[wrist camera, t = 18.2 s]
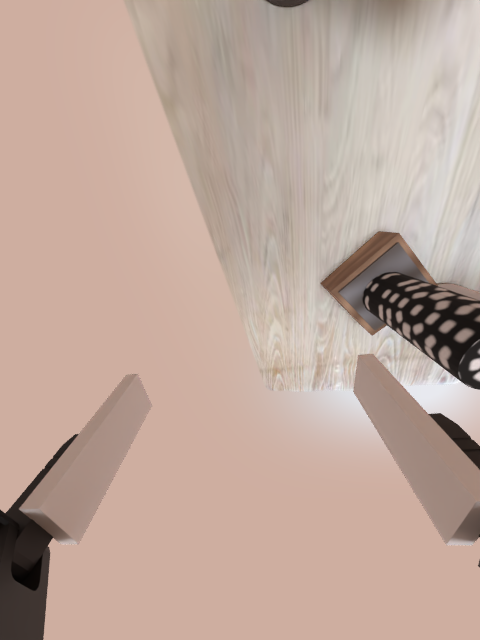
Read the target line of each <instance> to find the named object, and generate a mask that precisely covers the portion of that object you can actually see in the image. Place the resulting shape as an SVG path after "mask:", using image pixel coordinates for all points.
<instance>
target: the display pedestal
mask: <svg viewBox="0 0 480 640" xmlns="http://www.w3.org/2000/svg"><path fill="white" fill-rule="evenodd" d="M387 272H398V273H402V274H405V275H407V276H410V277H413V278H416V279H419V280H422V281H425V282H428V283H430V284H433V285H436V286H438V285H437V284H436V283H435V281H434V280H433V278H432V277H431V276H430V274H429V273H428V272H427V270H426V269H425V268H424V266H423V265H422V264H421V262H420V261H419V259H418V258H417V257H416V255H415V254H414V253H413V251H412V250H411V249H410V247H409V246H408V245H407V243H406V242H405V240H404V239H403V238H402V236H401V235H400V234H399V233H391V232H378V233H377V234H375V235H374V236H373V237H372V238H371V239H370V240H369V241H368V242H366V243H365V244H364V245H363V246H362V247H361V248H360V249H359V250H357V251H356V252H355V253H354V254H353V255H352V256H351V257H350V258H349V259H347V260H346V261H345V262H344V263H343V264H342V265H341V266H340V267H338V268H337V269H336V270H335V271H334V272H333V273H332V274H331V275H329V276H328V277H327V278H326V279H325V280H324V281H323V282H322V283H321V284H322V285H323V286H324V288H325V289H326V290H327V291H328V292H329V293H330V294H331V295H332V296H333V297H334V298H335V299H336V300H337V301H338V302H339V303H340V304H341V305H342V306H343V307H344V308H345V309H346V310H347V311H348V312H349V313H350V315H351V316H352V317H353V318H354V319H355V320H356V321H357V322H358V323H359V324H360V325H361V326H362V327H363V328H365V329H366V330H367V331H368V332H369V333H370V334H371V335H374V334H375V333H377V332H378V331H379V330H381V329H382V328H384V327H385V326H386V324H385V323H384V322H382V321H381V320H380V319H378V318H377V317H376V316H374V315H373V314H372V313H371V312H369V311H368V310H367V309H366V308H365V307H364V304H363V293H364V290H365V288H366V287H367V285H368V284H369V283H370V282H371V281H372V280H373V279H374V278H375V277H377V276H379V275H381V274H384V273H387Z"/></svg>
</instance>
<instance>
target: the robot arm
mask: <svg viewBox="0 0 480 640" xmlns="http://www.w3.org/2000/svg"><path fill="white" fill-rule="evenodd" d="M268 1H269V2H271V3H273V4H276V5H280V6H295V5H299V4H302V3H304V2H306V1H308V0H268ZM353 392H354V394H355V395H356V397H357V398H358V400H359V402H360V403H361V405H362V407H363V408H364V410H365V411H366V413H367V415H368V417H369V418H370V420H371V421H372V423H373V425H374V427H375V428H376V429H377V431H378V433H379V435H380V436H381V438H382V440H383V441H384V443H385V445H386V446H387V448H388V450H389V451H390V453H391V455H392V456H393V458H394V459H395V461H396V463H397V464H398V466H399V468H400V469H401V471H402V473H403V474H404V476H405V478H406V479H407V481H408V482H409V484H410V486H411V487H412V489H413V491H414V493H415V494H416V496H417V497H418V499H419V501H420V502H421V504H422V506H423V507H424V509H425V511H426V512H427V514H428V515H429V517H430V519H431V521H432V522H433V524H434V526H435V527H436V529H437V530H438V532H439V534H440V535H441V537H442V539H443V540H444V542H445V544H446V545H472V544H474V542H475V541H476V540H477V539H478V538H479V537H480V446H479V445H478V444H477V443H476V442H475V441H474V440H472V439H471V438H470V436H469V435H468V434H467V433H466V432H465V431H464V430H463V429H462V428H461V427H460V426H459V425H458V424H456V423H454V422H453V421H452V420H450V419H448V418H447V417H445V416H444V415H442V414H441V413H438V414H428V413H427V412H426V411H425V410H424V409H423V408H422V407H421V406H420V405H419V403H418V402H417V401H416V400H415V399H414V398H413V397H412V396H411V395H410V394H409V393H408V392H407V391H406V389H405V388H404V387H403V386H402V385H401V384H400V383H399V382H398V381H397V380H396V379H395V377H394V376H393V375H392V374H391V373H390V372H389V371H388V370H387V369H386V368H385V367H384V366H383V364H382V363H381V362H380V361H379V360H378V359H377V358H376V357H375V356H374V355H373V354H365V355H358V361H357V368H356V376H355V383H354V391H353ZM151 407H152V404H151V402H150V400H149V398H148V395H147V393H146V391H145V389H144V387H143V384H142V382H141V380H140V378H139V375H138V374H132V375H131V374H130V375H126V376H125V377H124V378H123V380H122V381H121V382H120V383H119V385H118V386H117V387H116V388H115V390H114V391H113V392H112V394H111V395H110V396H109V397H108V398H107V400H106V401H105V402H104V403H103V405H102V406H101V407H100V408H99V410H98V411H97V412H96V413H95V415H94V416H93V417H92V418H91V420H90V421H89V422H88V423H87V425H86V426H85V427H84V428H83V430H82V431H81V432H80V433H79V434H75V435H74V436H73V437H72V438H70V439H69V440H68V441H67V442H66V443H65V444H63V446H62V447H61V448H60V449H59V450H58V451H57V453H56V454H55V455H54V456H53V459H51V460H50V461H49V462H48V463H47V465H46V466H45V469H42V471H41V472H40V473H39V474H38V475H37V477H36V478H35V479H34V480H33V481H32V483H31V484H30V485H29V486H28V487H27V489H26V490H25V491H24V492H23V493H22V495H21V496H20V497H19V498H18V499H17V501H16V502H15V503H14V504H13V505H12V507H11V508H10V509H9V510H8V511H7V512H6V513H4V512H2V511H1V510H0V640H43V635H44V622H45V611H46V598H47V586H48V573H49V560H50V550H49V547H48V544H49V543H50V541H51V539H52V538H54V539H56V540H57V541H58V542H59V543H60V544H79V543H80V541H81V539H82V537H83V535H84V533H85V531H86V529H87V528H88V526H89V524H90V522H91V520H92V518H93V516H94V514H95V512H96V511H97V509H98V506H99V505H100V503H101V501H102V499H103V497H104V495H105V494H106V491H107V490H108V488H109V486H110V484H111V482H112V480H113V478H114V477H115V474H116V473H117V471H118V469H119V467H120V465H121V463H122V461H123V460H124V457H125V456H126V454H127V452H128V450H129V448H130V446H131V444H132V442H133V441H134V439H135V437H136V435H137V433H138V431H139V429H140V427H141V425H142V423H143V422H144V420H145V418H146V416H147V414H148V412H149V410H150V408H151ZM478 566H479V567H480V561H479V565H478Z"/></svg>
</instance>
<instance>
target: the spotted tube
mask: <svg viewBox="0 0 480 640" xmlns="http://www.w3.org/2000/svg"><path fill="white" fill-rule="evenodd" d="M363 304H364V307H365V308H366V309H367V310H368V311H369V312H371V313H372V314H373V315H374V316H376V317H377V318H378V319H380V320H381V321H382V322H384V323H385V324H386V325H388V326H389V327H390V328H392V329H393V330H394V331H396V332H397V333H398V334H399V335H401V336H402V337H403V338H405V339H406V340H407V341H409V342H410V343H411V344H413V345H414V346H415V347H417V348H418V349H419V350H420V351H422V352H423V353H424V354H426V355H427V356H428V357H430V358H431V359H432V360H434V361H435V362H436V363H438V364H439V365H440V366H441V367H443V368H444V369H445V370H447V371H448V372H449V373H451V374H452V375H453V376H455V377H456V378H457V379H459V380H460V381H461V382H463V383H464V384H465V385H467V386H468V387H471V388H474V389H480V301H479V300H476V299H474V298H471V297H468V296H465V295H462V294H459V293H456V292H453V291H451V290H448V289H445V288H442V287H439V286H436V285H433V284H430V283H428V282H425V281H422V280H419V279H416V278H413V277H410V276H407V275H405V274H402V273H398V272H387V273H384V274H381V275H379V276H377V277H375V278H374V279H373V280H372V281H371V282H370V283H369V284H368V285H367V287H366V288H365V290H364V293H363Z"/></svg>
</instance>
